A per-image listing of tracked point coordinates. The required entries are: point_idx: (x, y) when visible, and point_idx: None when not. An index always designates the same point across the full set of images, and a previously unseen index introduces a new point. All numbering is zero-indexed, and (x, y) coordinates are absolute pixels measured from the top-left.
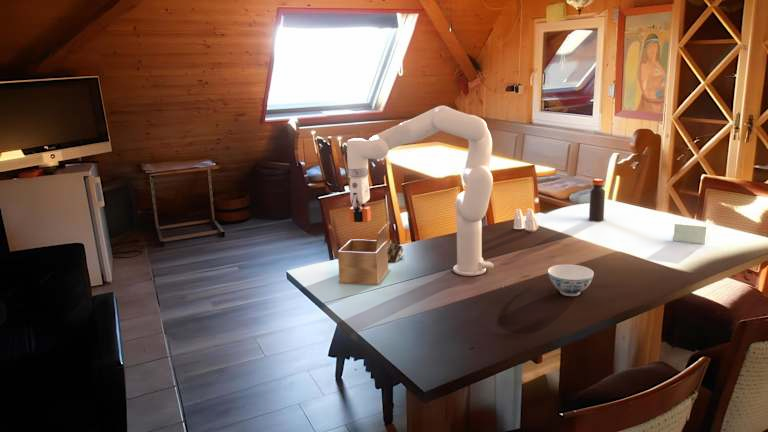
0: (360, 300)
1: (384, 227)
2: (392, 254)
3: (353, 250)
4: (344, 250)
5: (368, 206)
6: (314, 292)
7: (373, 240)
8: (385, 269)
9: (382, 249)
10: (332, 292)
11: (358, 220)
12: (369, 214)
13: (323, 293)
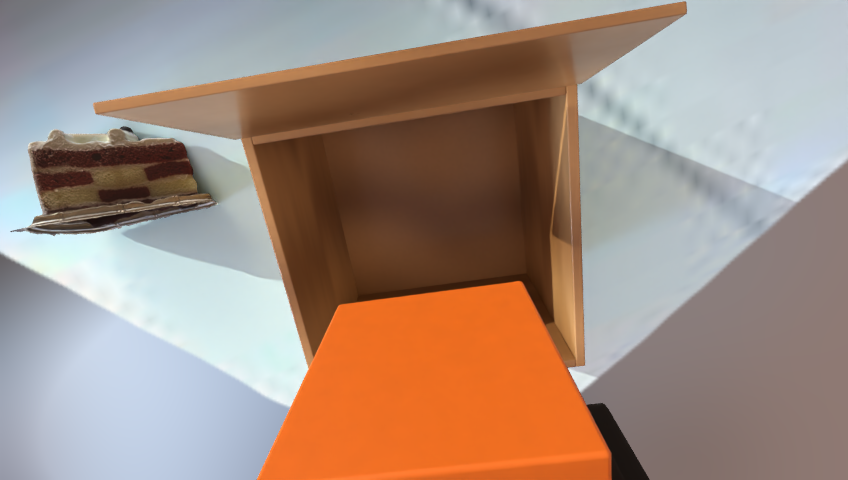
0: (728, 85)
1: (374, 56)
2: (139, 174)
3: None
4: None
5: None
6: (656, 320)
7: (278, 244)
8: None
9: None
10: (646, 253)
11: (599, 408)
12: (405, 349)
13: (662, 282)
